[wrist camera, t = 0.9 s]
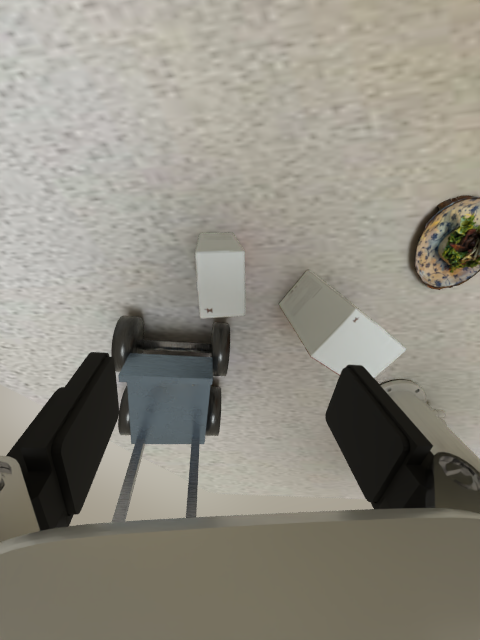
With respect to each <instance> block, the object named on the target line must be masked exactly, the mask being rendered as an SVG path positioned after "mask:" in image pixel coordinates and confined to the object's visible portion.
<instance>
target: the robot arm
mask: <svg viewBox="0 0 480 640" xmlns="http://www.w3.org/2000/svg"><path fill="white" fill-rule="evenodd" d="M118 415H119V405H118V394H117V384H116V373H115V363H114V358H113V357H109V354H108V353H98V352H91V353H90V354H89V355H88V356H87V357H86V359H85V360H84V362H83V363H82V364H81V366H80V367H79V368H78V370H77V371H76V372H75V374H74V375H73V376H72V378H71V379H70V381H69V382H68V383H67V385H66V386H65V387H61V388H59V389H58V390H57V391H56V392H55V393H54V394H53V395H52V397H51V398H50V399H49V401H48V402H47V403H46V404H45V406H44V407H43V408H42V410H41V411H40V412H39V414H38V415H37V416H36V418H35V419H34V420H33V422H32V423H31V424H30V425H29V427H28V428H27V429H26V431H25V432H24V433H23V435H22V436H21V437H20V439H19V440H18V441H17V442H16V444H15V445H14V446H13V448H12V449H11V450H10V452H9V453H8V454H7V456H0V640H480V459H479V458H478V457H477V456H476V455H475V454H474V453H473V452H472V451H471V450H470V449H469V448H468V447H467V446H466V445H465V444H464V443H463V442H462V441H461V440H460V439H459V438H458V437H457V436H456V435H455V434H454V433H453V432H452V431H451V430H450V429H449V428H448V427H447V426H446V423H445V421H444V420H443V419H439V418H444V417H445V416H446V414H445V412H444V411H443V410H433V409H432V408H431V407H430V406H429V405H428V404H427V403H426V394H425V392H424V391H423V389H422V388H421V387H420V386H418V385H417V384H416V383H414V382H412V381H407V380H396V381H391V382H387V383H384V384H382V385H379V383H378V382H377V381H376V380H375V379H374V378H373V377H372V375H371V374H370V373H369V372H368V371H367V370H366V369H365V368H364V367H363V366H362V365H347V366H346V368H343V369H342V371H341V374H340V377H339V379H338V382H337V385H336V387H335V390H334V393H333V395H332V398H331V401H330V403H329V406H328V409H327V411H326V421H327V424H328V426H329V428H330V430H331V431H332V433H333V435H334V437H335V439H336V441H337V443H338V445H339V447H340V449H341V451H342V453H343V455H344V457H345V459H346V461H347V463H348V465H349V467H350V469H351V471H352V473H353V475H354V477H355V479H356V481H357V483H358V485H359V487H360V488H361V490H362V492H363V494H364V496H365V498H366V499H367V501H369V502H371V504H372V506H373V508H374V509H370V510H345V511H320V512H298V513H278V514H277V513H276V514H255V515H234V516H215V517H196V518H177V519H158V520H141V521H127V522H112V523H98V524H86V525H77V526H69V524H70V522H71V519H72V517H73V515H74V514H79V513H80V511H81V509H82V507H83V504H84V502H85V499H86V497H87V494H88V492H89V489H90V487H91V484H92V482H93V479H94V477H95V474H96V471H97V469H98V467H99V464H100V462H101V459H102V457H103V454H104V452H105V449H106V447H107V444H108V442H109V439H110V437H111V434H112V432H113V429H114V427H115V424H116V422H117V419H118Z"/></svg>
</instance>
